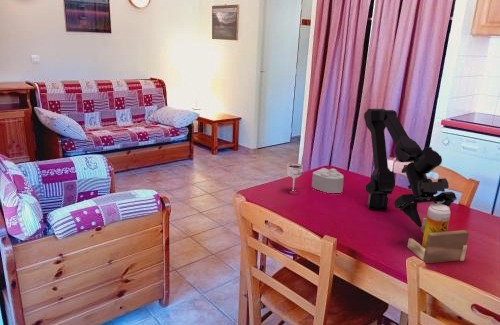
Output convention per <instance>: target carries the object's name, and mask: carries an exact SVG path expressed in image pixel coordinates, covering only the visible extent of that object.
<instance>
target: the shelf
mask: <svg viewBox="0 0 500 325" xmlns="http://www.w3.org/2000/svg"><path fill="white" fill-rule="evenodd" d="M426 219H427V217H423V219H422V222H421V224H422V227H421V230H420V232H422V234H424V231H425V225H426ZM469 235H470V232H468V231H467V230H465V229H464V230H463V229H462V230H454V231H452V230H451V231H447V232H438V233H428V237H427V243H426V248H424V247H423V246H422V244H420V243H419V242H418V241H416V240H415V239H414V238H412V237H411V238H408V242H407V248H408V249H409V250H410V251H412V252H413V254H415V255H416V256H417V257H418V258H420V259H421V260H422V261H423V262H424V261H425V262H424V263H426V264H435V263H444V262H453V261H460V262H461V261H462V262H463V261H465V258H466V253H467V249H468V245H467V244H468V240H469Z"/></svg>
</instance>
